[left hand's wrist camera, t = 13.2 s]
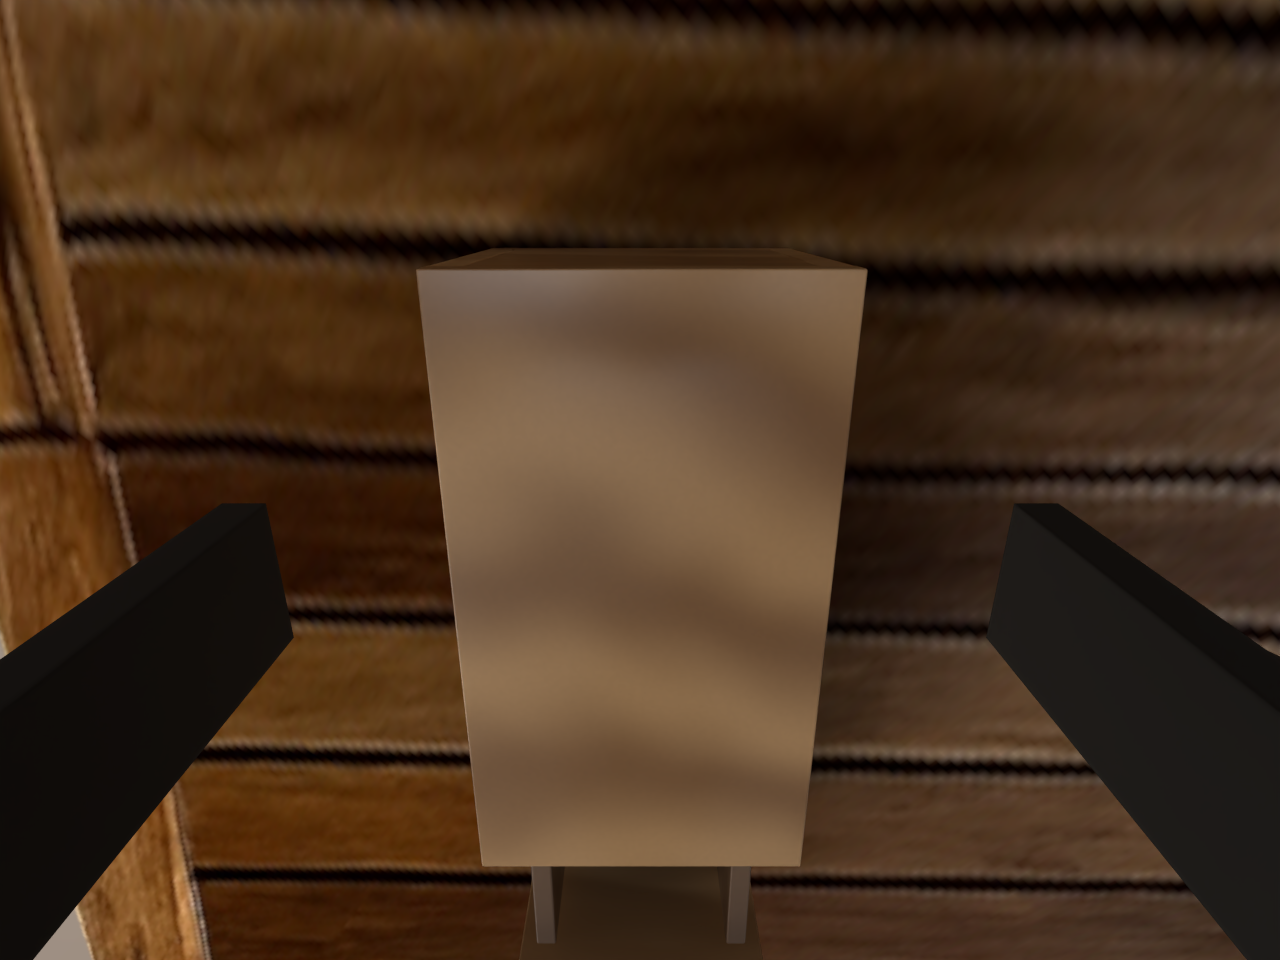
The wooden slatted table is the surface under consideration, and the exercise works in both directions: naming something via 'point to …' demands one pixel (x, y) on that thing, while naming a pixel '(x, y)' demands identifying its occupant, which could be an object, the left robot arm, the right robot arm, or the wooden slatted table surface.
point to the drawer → (641, 913)
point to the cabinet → (641, 540)
